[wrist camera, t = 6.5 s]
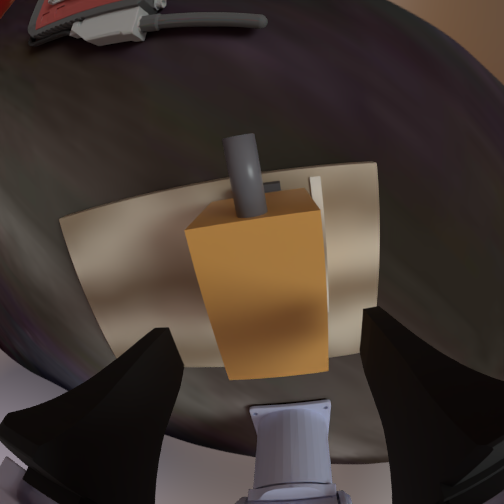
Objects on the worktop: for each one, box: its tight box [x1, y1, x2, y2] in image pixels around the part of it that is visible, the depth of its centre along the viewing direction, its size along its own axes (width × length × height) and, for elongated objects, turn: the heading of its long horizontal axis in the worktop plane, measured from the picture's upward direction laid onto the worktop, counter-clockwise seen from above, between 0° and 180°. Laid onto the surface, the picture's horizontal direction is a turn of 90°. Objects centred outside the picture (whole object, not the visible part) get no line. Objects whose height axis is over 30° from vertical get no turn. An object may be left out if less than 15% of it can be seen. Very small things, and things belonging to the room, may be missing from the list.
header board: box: [59, 161, 380, 367], centre depth 17 cm, size 14×22×5 cm, turn 99°
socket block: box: [184, 134, 328, 380], centre depth 13 cm, size 11×5×5 cm, turn 10°
